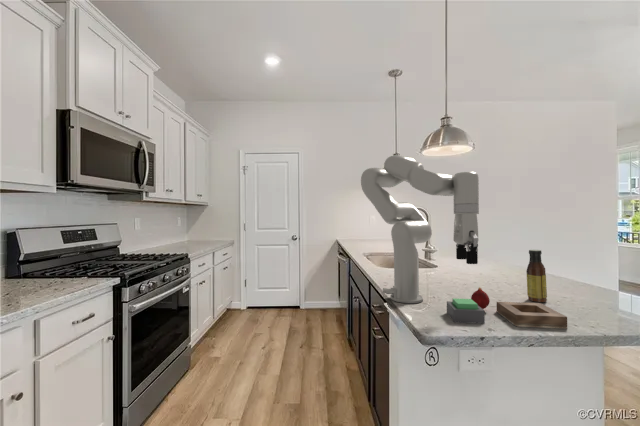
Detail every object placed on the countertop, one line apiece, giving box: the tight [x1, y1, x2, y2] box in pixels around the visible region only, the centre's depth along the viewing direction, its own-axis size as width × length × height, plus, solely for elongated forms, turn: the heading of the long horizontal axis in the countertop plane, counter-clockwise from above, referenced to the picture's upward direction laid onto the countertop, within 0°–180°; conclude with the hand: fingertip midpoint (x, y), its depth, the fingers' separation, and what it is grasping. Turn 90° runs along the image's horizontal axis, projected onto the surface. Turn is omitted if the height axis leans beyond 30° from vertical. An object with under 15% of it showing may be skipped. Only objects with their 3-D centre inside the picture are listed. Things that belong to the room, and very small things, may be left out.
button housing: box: [446, 300, 486, 324], centre depth 100 cm, size 9×9×4 cm
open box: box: [496, 301, 568, 330], centre depth 99 cm, size 14×14×4 cm
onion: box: [470, 287, 491, 310], centre depth 108 cm, size 6×6×8 cm
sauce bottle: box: [526, 249, 548, 303], centre depth 119 cm, size 6×6×20 cm
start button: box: [451, 297, 478, 309], centre depth 100 cm, size 6×6×3 cm
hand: (466, 261), depth 101 cm, fingers open, 9 cm apart
